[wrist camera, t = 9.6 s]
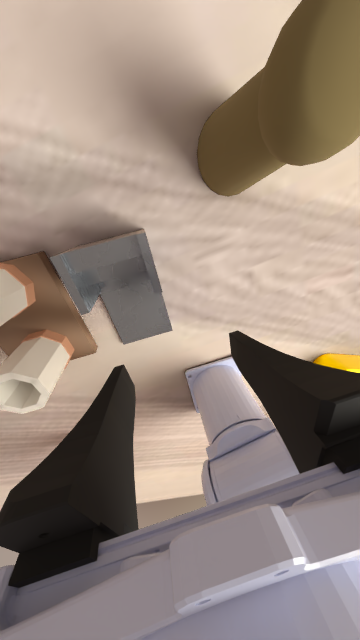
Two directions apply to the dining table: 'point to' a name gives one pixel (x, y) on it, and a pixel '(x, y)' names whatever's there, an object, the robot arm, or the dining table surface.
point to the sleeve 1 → (14, 292)
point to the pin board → (46, 310)
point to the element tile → (340, 361)
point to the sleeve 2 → (33, 371)
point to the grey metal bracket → (117, 283)
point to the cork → (289, 101)
